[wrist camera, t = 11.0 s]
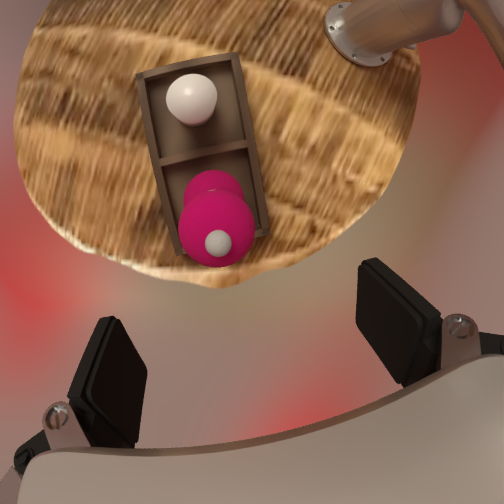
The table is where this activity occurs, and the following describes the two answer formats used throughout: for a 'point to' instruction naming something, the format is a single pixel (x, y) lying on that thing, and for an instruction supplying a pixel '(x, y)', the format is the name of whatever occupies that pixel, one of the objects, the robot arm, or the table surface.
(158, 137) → the walnut cruet tray
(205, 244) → the pepper mill
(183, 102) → the salt shaker
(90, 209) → the table surface
